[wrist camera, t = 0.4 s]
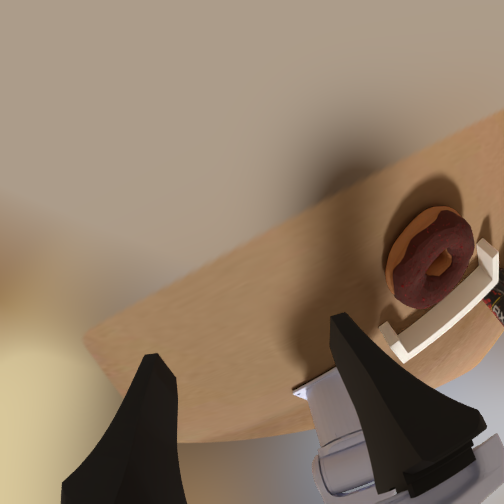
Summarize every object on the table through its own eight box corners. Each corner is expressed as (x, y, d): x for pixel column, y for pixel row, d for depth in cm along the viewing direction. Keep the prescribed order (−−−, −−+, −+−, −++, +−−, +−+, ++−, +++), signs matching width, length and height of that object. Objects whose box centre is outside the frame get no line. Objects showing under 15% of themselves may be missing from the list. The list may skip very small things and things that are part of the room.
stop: (485, 268, 26) (498, 282, 24) (393, 346, 31) (403, 363, 28) (482, 237, 23) (498, 251, 21) (378, 327, 28) (389, 347, 25)
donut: (457, 184, 19) (486, 203, 16) (456, 261, 25) (476, 283, 21) (371, 229, 21) (397, 257, 17) (385, 304, 26) (402, 331, 23)
